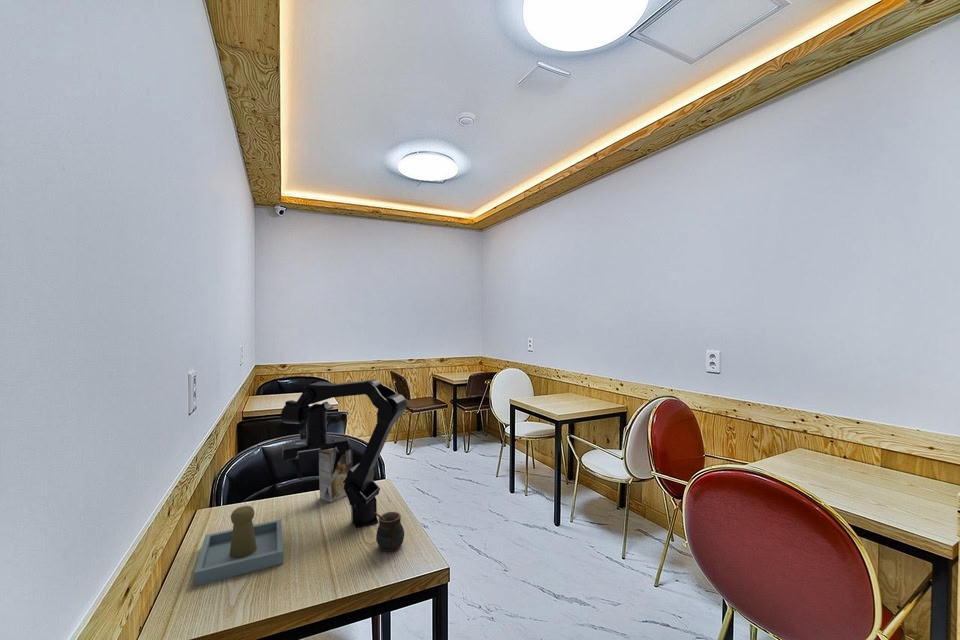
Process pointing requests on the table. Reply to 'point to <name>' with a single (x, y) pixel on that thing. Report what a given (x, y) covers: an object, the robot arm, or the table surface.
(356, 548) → the table surface
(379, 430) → the robot arm
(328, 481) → the coffee box
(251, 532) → the cork
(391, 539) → the mate gourd
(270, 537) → the slate tray
